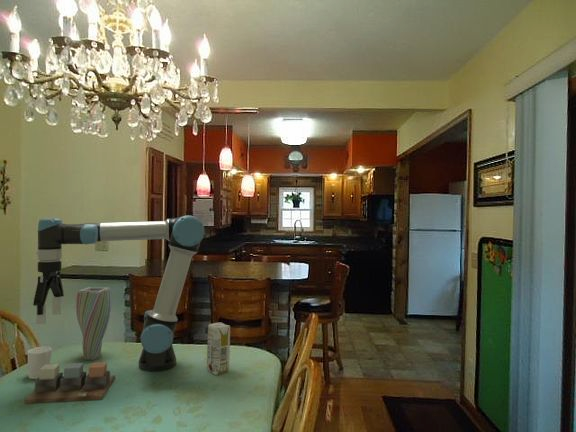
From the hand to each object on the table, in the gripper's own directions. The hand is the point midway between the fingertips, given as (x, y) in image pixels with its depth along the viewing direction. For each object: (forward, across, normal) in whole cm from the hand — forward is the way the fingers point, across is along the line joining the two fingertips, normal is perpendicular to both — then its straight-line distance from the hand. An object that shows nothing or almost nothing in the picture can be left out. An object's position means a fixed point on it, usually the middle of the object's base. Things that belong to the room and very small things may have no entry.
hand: (49, 318), depth 147 cm
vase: (+25, -29, +7) cm, 38 cm away
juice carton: (+26, -8, +61) cm, 67 cm away
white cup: (+24, -10, -7) cm, 27 cm away
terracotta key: (+21, +5, +18) cm, 28 cm away
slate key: (+21, +5, +10) cm, 24 cm away
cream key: (+21, +5, +2) cm, 21 cm away
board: (+24, +5, +10) cm, 27 cm away
